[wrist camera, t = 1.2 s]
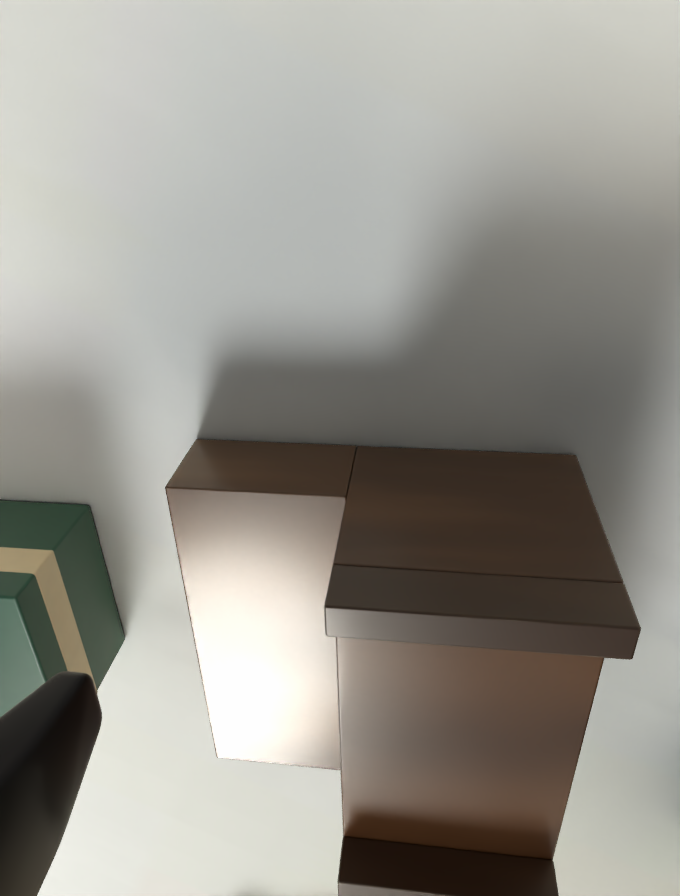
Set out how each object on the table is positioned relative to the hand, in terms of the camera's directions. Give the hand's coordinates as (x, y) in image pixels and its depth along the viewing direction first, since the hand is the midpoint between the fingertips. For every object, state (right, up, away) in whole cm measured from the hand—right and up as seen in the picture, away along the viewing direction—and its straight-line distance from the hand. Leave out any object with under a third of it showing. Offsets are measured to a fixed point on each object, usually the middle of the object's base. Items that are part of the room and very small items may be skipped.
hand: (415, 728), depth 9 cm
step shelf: (0, -2, +16) cm, 16 cm away
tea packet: (-13, -1, +17) cm, 22 cm away
